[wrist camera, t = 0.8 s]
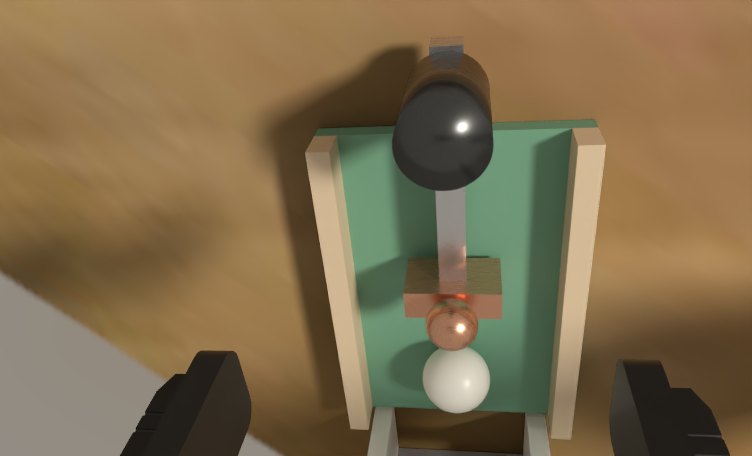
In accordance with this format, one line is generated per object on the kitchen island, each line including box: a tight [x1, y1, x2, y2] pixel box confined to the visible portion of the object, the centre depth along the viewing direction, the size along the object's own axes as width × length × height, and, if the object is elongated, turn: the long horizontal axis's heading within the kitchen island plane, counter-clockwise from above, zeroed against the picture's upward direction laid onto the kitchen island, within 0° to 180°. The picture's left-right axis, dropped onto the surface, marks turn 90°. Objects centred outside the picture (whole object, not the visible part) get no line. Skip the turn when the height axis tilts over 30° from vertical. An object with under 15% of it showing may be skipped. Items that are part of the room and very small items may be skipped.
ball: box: [423, 347, 490, 413], centre depth 36 cm, size 4×4×4 cm
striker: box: [392, 36, 503, 351], centre depth 27 cm, size 5×14×8 cm, turn 5°
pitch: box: [305, 119, 606, 440], centre depth 35 cm, size 14×20×3 cm
